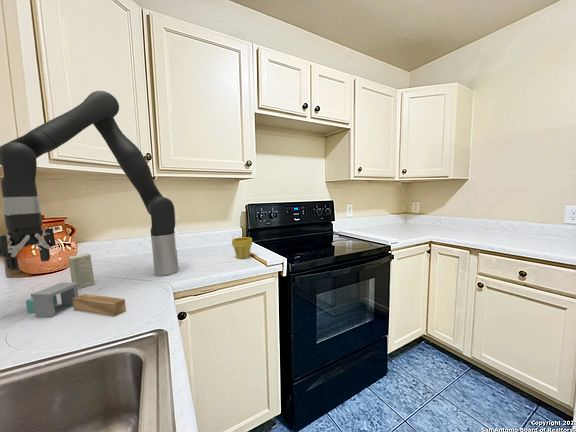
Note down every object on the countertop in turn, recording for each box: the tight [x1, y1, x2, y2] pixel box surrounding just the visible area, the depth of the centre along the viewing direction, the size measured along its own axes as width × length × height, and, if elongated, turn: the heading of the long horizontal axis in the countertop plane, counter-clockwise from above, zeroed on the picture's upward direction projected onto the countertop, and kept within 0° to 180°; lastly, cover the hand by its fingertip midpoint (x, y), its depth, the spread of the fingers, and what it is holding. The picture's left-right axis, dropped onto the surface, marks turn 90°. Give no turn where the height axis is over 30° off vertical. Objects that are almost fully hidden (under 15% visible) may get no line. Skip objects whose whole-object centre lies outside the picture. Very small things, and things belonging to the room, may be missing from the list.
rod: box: [72, 293, 127, 317], centre depth 75 cm, size 4×17×4 cm, turn 73°
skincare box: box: [67, 252, 95, 289], centre depth 95 cm, size 6×4×12 cm
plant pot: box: [231, 236, 253, 260], centre depth 129 cm, size 10×10×10 cm
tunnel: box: [30, 282, 80, 318], centre depth 76 cm, size 9×6×7 cm
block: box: [25, 295, 58, 314], centre depth 77 cm, size 4×5×4 cm
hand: (30, 265), depth 75 cm, fingers open, 8 cm apart
